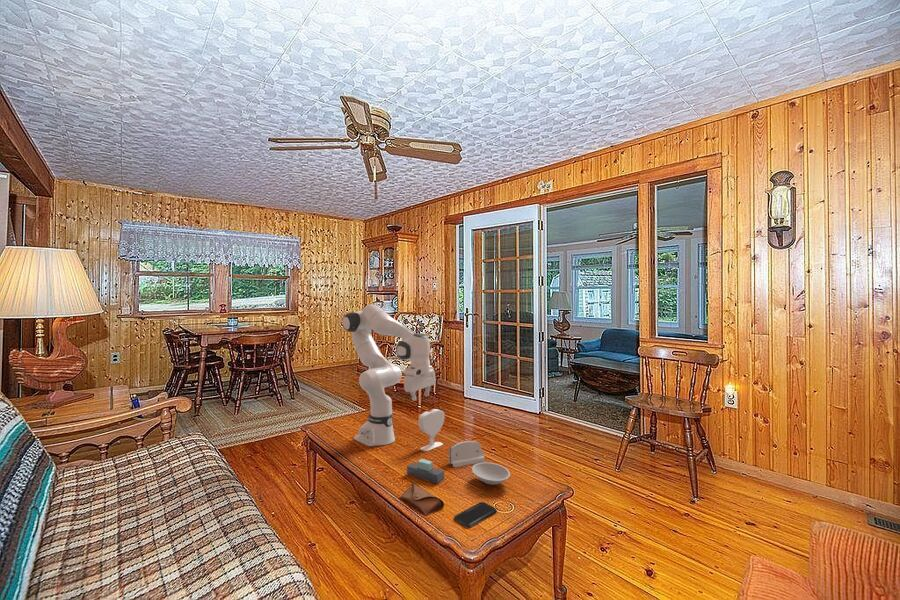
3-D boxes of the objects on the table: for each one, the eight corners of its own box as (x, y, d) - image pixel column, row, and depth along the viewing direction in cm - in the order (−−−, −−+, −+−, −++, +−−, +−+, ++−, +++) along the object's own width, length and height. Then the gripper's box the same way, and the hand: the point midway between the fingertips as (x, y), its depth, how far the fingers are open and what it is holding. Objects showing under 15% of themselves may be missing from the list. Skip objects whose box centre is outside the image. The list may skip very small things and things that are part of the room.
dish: (518, 487, 160) (518, 474, 160) (490, 497, 152) (490, 484, 152) (491, 470, 175) (491, 459, 174) (464, 478, 167) (464, 467, 167)
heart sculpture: (438, 440, 210) (438, 406, 209) (445, 443, 206) (445, 408, 206) (417, 449, 198) (417, 413, 198) (424, 452, 195) (424, 415, 195)
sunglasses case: (396, 497, 152) (403, 479, 154) (408, 500, 156) (415, 483, 158) (426, 516, 139) (434, 496, 141) (439, 519, 143) (446, 500, 145)
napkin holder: (453, 467, 177) (450, 444, 180) (449, 467, 182) (446, 444, 184) (486, 461, 184) (482, 438, 187) (481, 461, 188) (478, 439, 191)
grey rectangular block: (407, 474, 171) (407, 466, 171) (413, 470, 175) (413, 462, 175) (437, 483, 162) (437, 475, 162) (444, 479, 166) (444, 470, 166)
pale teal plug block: (418, 475, 169) (418, 461, 169) (422, 472, 172) (421, 458, 171) (429, 478, 166) (429, 464, 166) (432, 475, 168) (432, 461, 168)
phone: (498, 509, 142) (468, 526, 132) (498, 512, 142) (468, 529, 132) (481, 501, 148) (452, 516, 138) (481, 504, 148) (452, 519, 138)
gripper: (428, 364, 196) (428, 392, 196) (401, 371, 179) (401, 402, 179) (438, 365, 192) (438, 394, 193) (412, 372, 175) (412, 404, 175)
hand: (420, 397), depth 186 cm, fingers open, 8 cm apart
